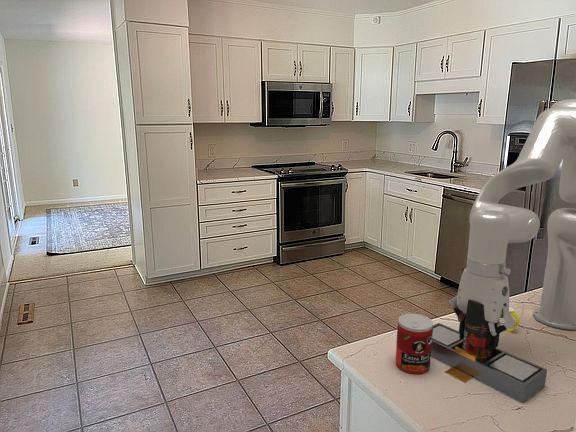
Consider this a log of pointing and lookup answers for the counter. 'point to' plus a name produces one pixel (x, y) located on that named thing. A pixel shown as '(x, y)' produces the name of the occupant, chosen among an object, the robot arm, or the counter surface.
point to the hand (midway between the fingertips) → (477, 342)
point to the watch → (515, 319)
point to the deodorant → (476, 332)
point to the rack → (487, 366)
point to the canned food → (414, 343)
